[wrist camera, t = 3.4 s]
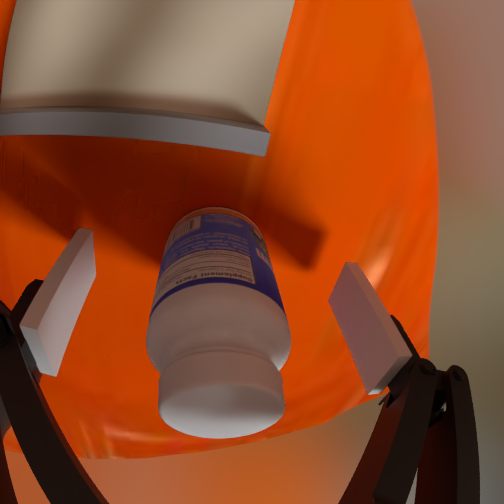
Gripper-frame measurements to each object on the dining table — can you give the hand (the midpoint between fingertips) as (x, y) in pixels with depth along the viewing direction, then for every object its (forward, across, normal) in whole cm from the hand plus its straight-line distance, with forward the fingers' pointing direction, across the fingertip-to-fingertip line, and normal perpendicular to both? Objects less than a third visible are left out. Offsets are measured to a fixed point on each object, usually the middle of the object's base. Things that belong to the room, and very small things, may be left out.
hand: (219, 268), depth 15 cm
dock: (+2, -5, +12) cm, 13 cm away
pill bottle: (+2, 0, 0) cm, 2 cm away
